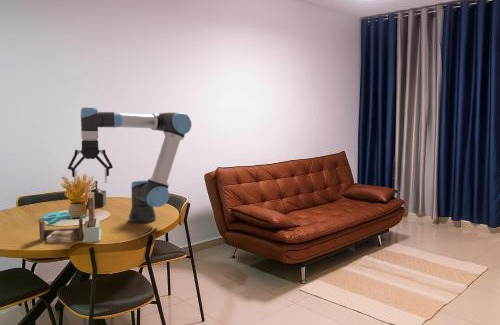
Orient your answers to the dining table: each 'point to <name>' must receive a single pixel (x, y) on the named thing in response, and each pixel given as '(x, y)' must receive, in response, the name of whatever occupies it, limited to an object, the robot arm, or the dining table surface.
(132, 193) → the robot arm
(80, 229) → the rack
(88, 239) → the holder
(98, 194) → the black bag
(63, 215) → the teal napkin
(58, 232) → the offcut stack
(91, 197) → the sheet
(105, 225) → the dining table surface
